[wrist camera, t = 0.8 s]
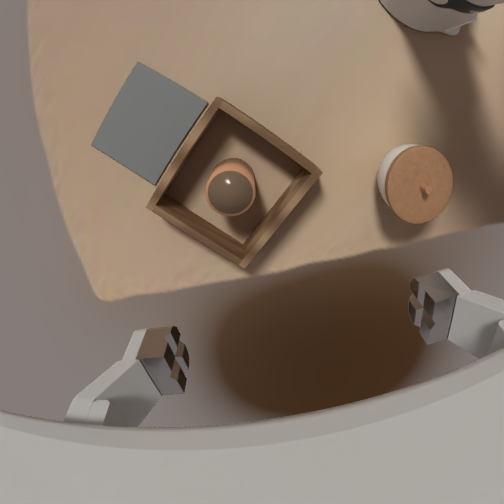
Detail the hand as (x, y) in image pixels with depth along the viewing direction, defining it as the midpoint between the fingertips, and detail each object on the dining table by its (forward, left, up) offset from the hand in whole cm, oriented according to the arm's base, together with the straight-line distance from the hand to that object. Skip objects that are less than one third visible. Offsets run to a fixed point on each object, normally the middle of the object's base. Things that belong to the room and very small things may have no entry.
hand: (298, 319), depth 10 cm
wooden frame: (+5, -1, -35) cm, 35 cm away
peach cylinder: (+5, -1, -35) cm, 35 cm away
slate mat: (+5, -16, -35) cm, 39 cm away
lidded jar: (-11, +18, -35) cm, 41 cm away
